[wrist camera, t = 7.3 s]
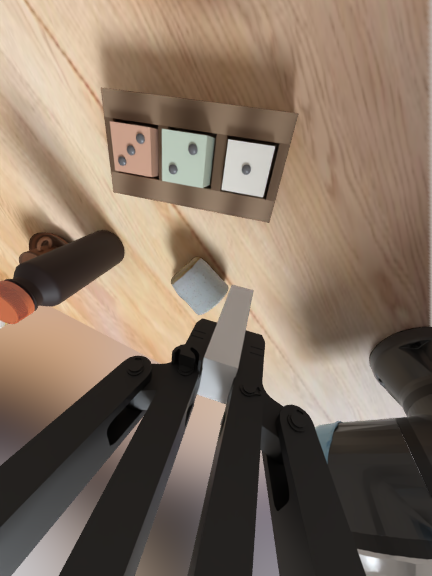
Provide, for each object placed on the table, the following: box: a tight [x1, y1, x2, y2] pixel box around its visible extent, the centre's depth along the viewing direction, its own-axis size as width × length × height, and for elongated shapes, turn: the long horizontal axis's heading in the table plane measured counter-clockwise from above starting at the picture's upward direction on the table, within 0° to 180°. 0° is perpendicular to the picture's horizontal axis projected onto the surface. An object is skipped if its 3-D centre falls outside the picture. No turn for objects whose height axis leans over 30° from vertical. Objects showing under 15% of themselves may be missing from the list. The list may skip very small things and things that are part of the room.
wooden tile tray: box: [101, 88, 298, 223], centre depth 28 cm, size 22×11×5 cm, turn 82°
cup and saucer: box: [19, 232, 68, 264], centre depth 43 cm, size 12×12×6 cm
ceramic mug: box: [171, 257, 228, 315], centre depth 37 cm, size 10×8×7 cm
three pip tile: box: [110, 121, 159, 177], centre depth 27 cm, size 5×5×4 cm
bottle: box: [0, 230, 124, 324], centre depth 33 cm, size 7×7×20 cm
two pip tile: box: [162, 129, 215, 188], centre depth 25 cm, size 5×5×4 cm
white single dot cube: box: [222, 139, 275, 197], centre depth 25 cm, size 5×5×4 cm
